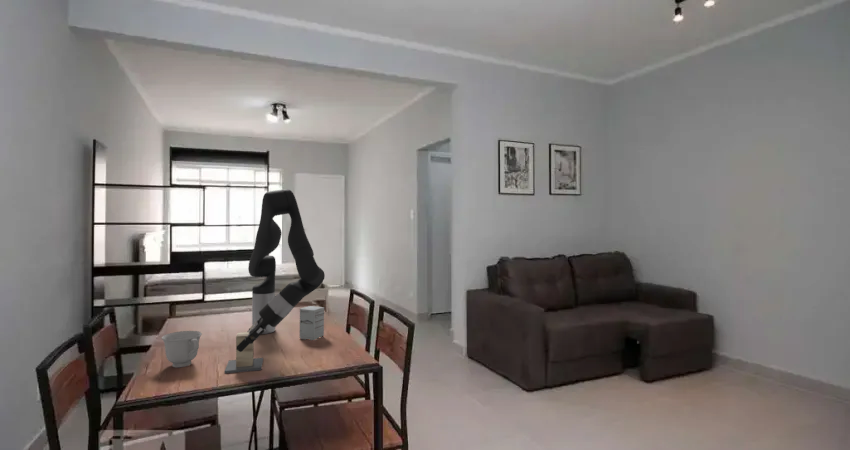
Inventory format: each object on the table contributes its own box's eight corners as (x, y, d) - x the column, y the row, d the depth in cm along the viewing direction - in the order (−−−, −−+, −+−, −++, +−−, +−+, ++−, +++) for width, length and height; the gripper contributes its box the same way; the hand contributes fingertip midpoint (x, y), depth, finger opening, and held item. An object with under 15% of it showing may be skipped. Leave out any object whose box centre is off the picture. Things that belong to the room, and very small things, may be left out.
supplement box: (298, 339, 181) (298, 308, 181) (309, 335, 188) (310, 305, 188) (313, 341, 178) (313, 310, 178) (324, 336, 185) (324, 306, 185)
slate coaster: (228, 362, 151) (228, 360, 151) (263, 359, 154) (263, 357, 154) (224, 373, 140) (224, 370, 140) (261, 370, 144) (261, 367, 144)
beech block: (237, 362, 149) (237, 332, 149) (253, 360, 150) (253, 331, 150) (236, 367, 144) (236, 336, 144) (252, 365, 146) (252, 335, 146)
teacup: (178, 375, 139) (178, 343, 139) (153, 366, 146) (153, 336, 146) (214, 364, 149) (214, 335, 149) (189, 357, 157) (189, 328, 157)
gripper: (269, 298, 156) (233, 334, 153) (267, 306, 142) (227, 345, 139) (285, 312, 158) (249, 348, 154) (284, 321, 144) (245, 360, 141)
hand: (239, 346), depth 147 cm, fingers open, 6 cm apart
